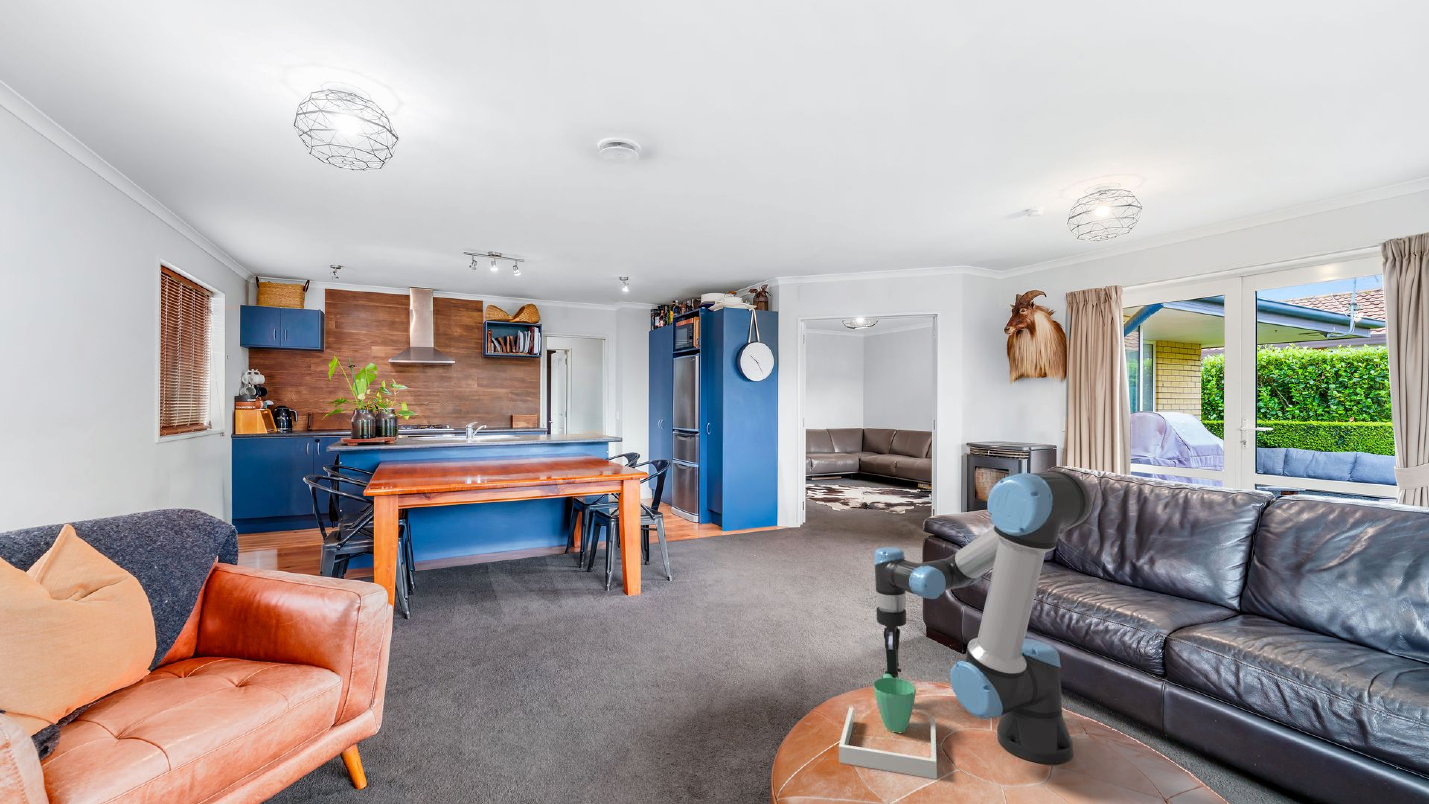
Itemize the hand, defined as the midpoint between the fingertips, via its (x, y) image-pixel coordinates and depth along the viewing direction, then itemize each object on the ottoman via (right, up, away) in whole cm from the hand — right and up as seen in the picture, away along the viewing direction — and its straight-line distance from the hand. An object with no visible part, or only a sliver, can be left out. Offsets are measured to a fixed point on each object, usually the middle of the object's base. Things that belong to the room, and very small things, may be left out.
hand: (894, 698), depth 155 cm
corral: (-7, -1, -20) cm, 21 cm away
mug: (-3, -1, -10) cm, 10 cm away
